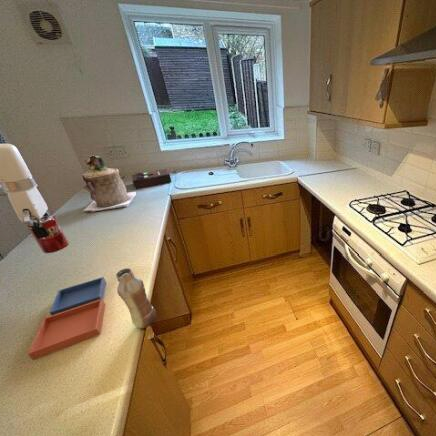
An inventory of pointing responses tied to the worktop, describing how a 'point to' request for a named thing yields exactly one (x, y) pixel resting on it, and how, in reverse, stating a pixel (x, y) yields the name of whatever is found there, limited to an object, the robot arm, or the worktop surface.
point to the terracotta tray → (68, 328)
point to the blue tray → (78, 295)
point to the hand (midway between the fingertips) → (47, 231)
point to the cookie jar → (105, 186)
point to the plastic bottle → (135, 298)
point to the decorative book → (151, 179)
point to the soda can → (51, 236)
